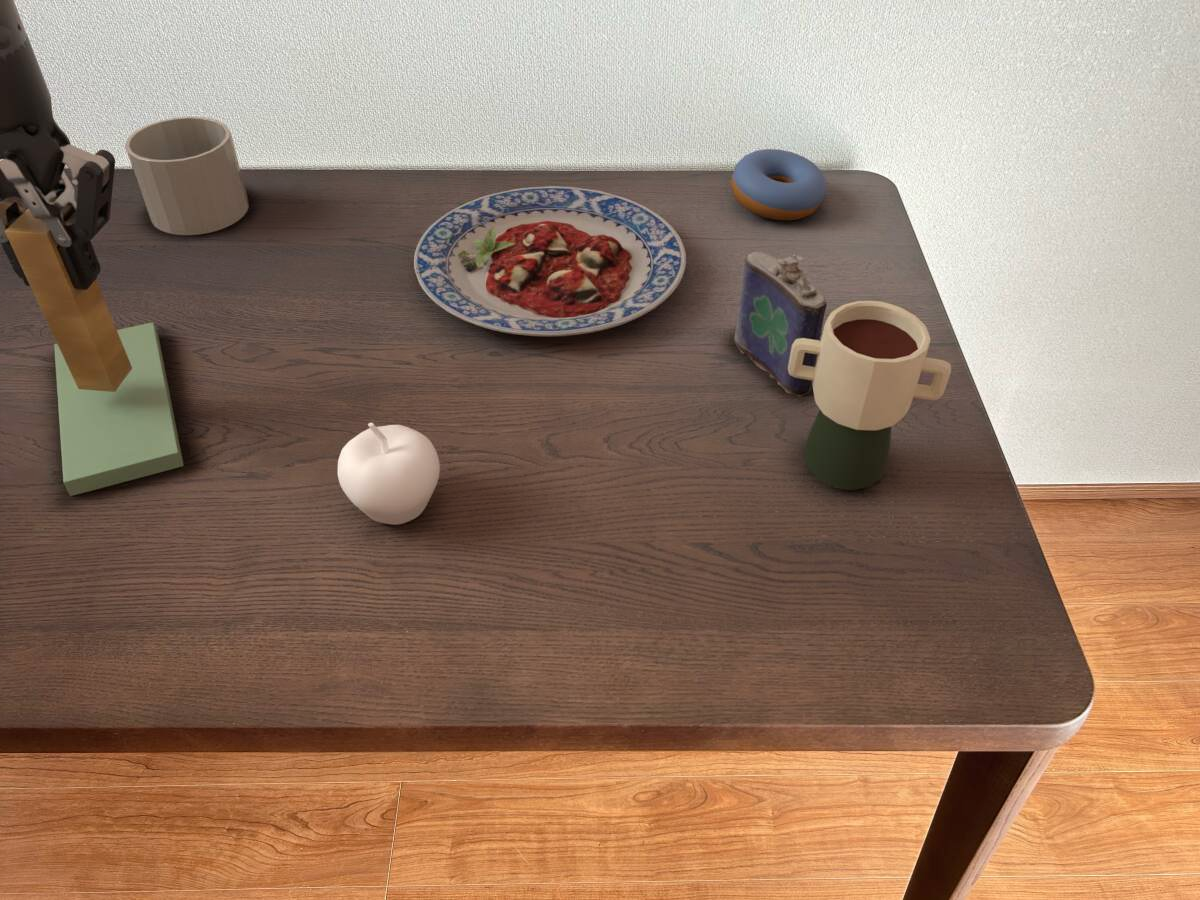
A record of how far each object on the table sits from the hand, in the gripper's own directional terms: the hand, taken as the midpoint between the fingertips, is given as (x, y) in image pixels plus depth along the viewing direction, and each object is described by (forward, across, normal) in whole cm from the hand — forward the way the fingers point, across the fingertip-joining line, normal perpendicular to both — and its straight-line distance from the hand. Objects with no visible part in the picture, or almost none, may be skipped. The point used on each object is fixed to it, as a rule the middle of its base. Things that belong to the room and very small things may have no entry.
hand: (62, 280), depth 70 cm
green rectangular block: (+12, 0, 0) cm, 12 cm away
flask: (+12, -53, -12) cm, 56 cm away
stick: (+9, 0, 0) cm, 9 cm away
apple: (+12, -25, +8) cm, 29 cm away
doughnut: (+12, -54, -40) cm, 68 cm away
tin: (+12, +6, -31) cm, 34 cm away
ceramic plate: (+12, -32, -24) cm, 42 cm away
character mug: (+12, -58, 0) cm, 59 cm away
